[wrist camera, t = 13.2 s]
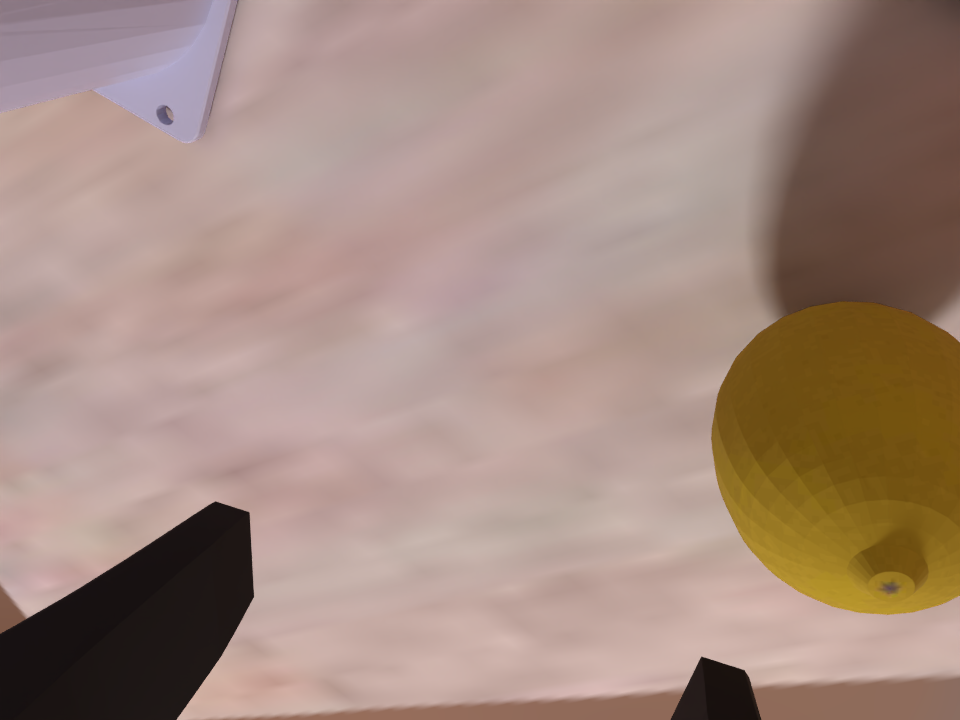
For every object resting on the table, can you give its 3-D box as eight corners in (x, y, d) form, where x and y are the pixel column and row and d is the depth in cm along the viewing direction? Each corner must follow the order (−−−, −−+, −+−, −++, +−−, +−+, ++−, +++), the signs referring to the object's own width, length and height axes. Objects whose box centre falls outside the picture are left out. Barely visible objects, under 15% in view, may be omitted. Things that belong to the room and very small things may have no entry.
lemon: (893, 205, 16) (1021, 395, 10) (989, 390, 18) (1157, 667, 11) (672, 314, 19) (651, 520, 12) (771, 467, 20) (801, 725, 14)
